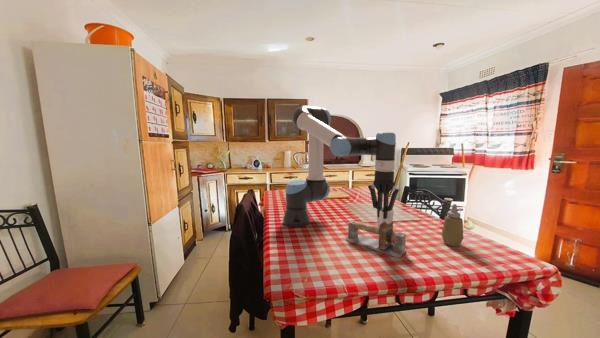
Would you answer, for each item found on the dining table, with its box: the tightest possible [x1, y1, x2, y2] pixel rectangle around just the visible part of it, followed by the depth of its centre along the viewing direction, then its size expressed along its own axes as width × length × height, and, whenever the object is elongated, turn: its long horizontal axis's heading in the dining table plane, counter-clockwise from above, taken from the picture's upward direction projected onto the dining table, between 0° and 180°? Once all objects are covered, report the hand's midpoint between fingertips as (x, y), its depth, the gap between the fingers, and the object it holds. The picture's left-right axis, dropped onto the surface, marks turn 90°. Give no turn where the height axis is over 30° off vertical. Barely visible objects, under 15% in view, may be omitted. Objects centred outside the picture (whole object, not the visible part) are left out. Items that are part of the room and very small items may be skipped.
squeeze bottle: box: [441, 203, 464, 247], centre depth 98 cm, size 8×8×18 cm
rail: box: [345, 220, 407, 259], centre depth 98 cm, size 24×8×8 cm, turn 48°
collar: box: [378, 220, 394, 250], centre depth 94 cm, size 2×8×10 cm, turn 138°
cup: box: [376, 206, 395, 227], centre depth 111 cm, size 8×8×12 cm
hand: (381, 225), depth 95 cm, fingers closed
